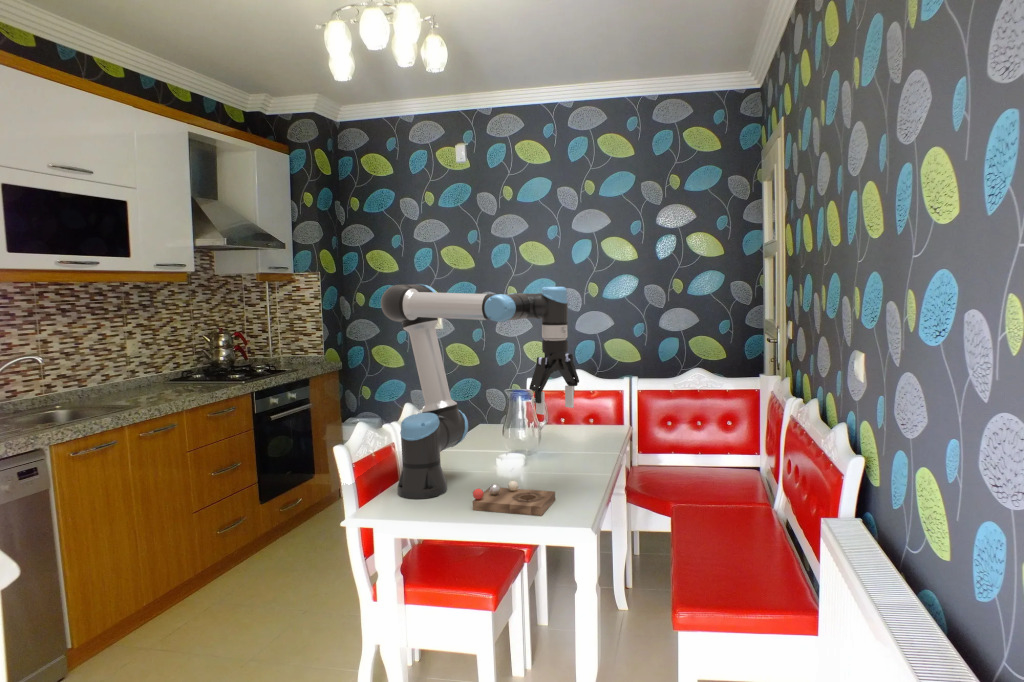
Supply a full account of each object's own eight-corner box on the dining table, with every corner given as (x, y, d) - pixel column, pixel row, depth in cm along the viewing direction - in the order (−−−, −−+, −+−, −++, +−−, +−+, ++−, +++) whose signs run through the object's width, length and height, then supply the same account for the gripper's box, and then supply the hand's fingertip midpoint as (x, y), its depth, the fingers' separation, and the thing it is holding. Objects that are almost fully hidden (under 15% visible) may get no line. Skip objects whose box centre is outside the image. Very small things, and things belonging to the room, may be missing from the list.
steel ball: (487, 496, 192) (487, 485, 192) (491, 492, 195) (491, 482, 195) (498, 496, 191) (497, 485, 191) (501, 493, 194) (501, 482, 194)
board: (472, 510, 188) (472, 501, 188) (490, 495, 201) (490, 486, 201) (541, 515, 182) (541, 506, 181) (555, 500, 195) (555, 491, 195)
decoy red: (471, 500, 189) (471, 490, 188) (475, 497, 191) (475, 487, 191) (481, 501, 188) (481, 490, 187) (485, 498, 190) (485, 487, 190)
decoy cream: (506, 492, 196) (506, 481, 195) (510, 489, 198) (509, 479, 198) (516, 492, 195) (516, 482, 194) (519, 489, 197) (519, 479, 197)
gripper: (536, 343, 186) (537, 418, 188) (590, 336, 205) (590, 406, 206) (516, 341, 192) (517, 415, 193) (571, 335, 210) (571, 403, 212)
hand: (555, 410), depth 200 cm, fingers open, 13 cm apart
